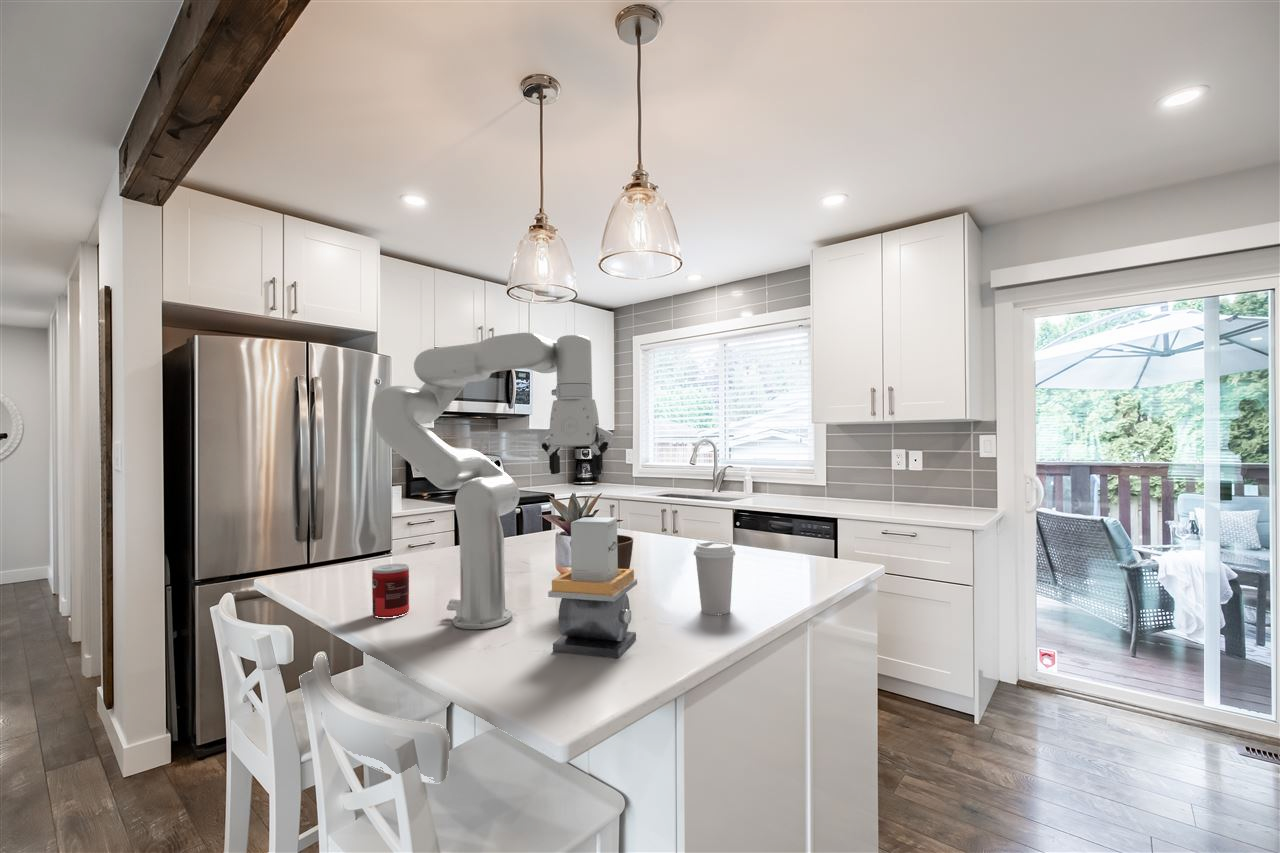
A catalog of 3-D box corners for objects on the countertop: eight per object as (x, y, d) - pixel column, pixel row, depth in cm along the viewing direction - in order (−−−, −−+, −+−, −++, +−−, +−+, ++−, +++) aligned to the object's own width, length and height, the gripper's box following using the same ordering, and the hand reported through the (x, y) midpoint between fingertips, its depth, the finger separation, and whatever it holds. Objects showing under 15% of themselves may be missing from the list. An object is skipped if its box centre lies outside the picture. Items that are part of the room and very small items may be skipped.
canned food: (384, 609, 138) (384, 563, 139) (415, 610, 137) (415, 563, 138) (365, 619, 131) (364, 570, 131) (398, 620, 130) (397, 570, 130)
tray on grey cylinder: (549, 654, 106) (548, 580, 107) (578, 632, 119) (577, 565, 119) (618, 661, 102) (616, 584, 103) (640, 637, 115) (639, 569, 115)
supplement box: (608, 590, 106) (607, 521, 107) (570, 589, 108) (569, 521, 109) (619, 581, 114) (618, 516, 114) (583, 579, 115) (582, 516, 116)
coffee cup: (713, 602, 138) (711, 539, 139) (745, 610, 131) (743, 544, 132) (686, 611, 132) (684, 545, 132) (718, 620, 125) (716, 550, 125)
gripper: (530, 394, 123) (531, 474, 123) (605, 390, 118) (607, 474, 117) (546, 396, 130) (547, 472, 130) (618, 393, 125) (620, 472, 124)
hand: (575, 473), depth 124 cm, fingers open, 9 cm apart
